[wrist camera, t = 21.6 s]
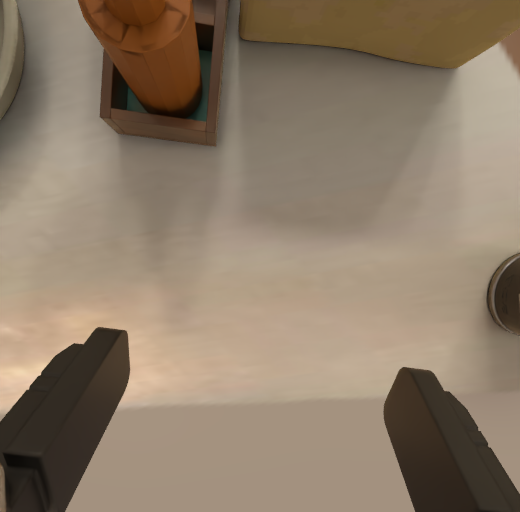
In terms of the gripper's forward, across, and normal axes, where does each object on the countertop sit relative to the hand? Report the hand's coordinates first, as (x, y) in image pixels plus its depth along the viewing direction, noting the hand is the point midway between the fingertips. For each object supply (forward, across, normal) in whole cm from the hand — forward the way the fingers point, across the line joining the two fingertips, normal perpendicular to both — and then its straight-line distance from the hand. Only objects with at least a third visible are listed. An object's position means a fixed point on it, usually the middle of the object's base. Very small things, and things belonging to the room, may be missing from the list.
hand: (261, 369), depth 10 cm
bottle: (+25, +10, -6) cm, 28 cm away
